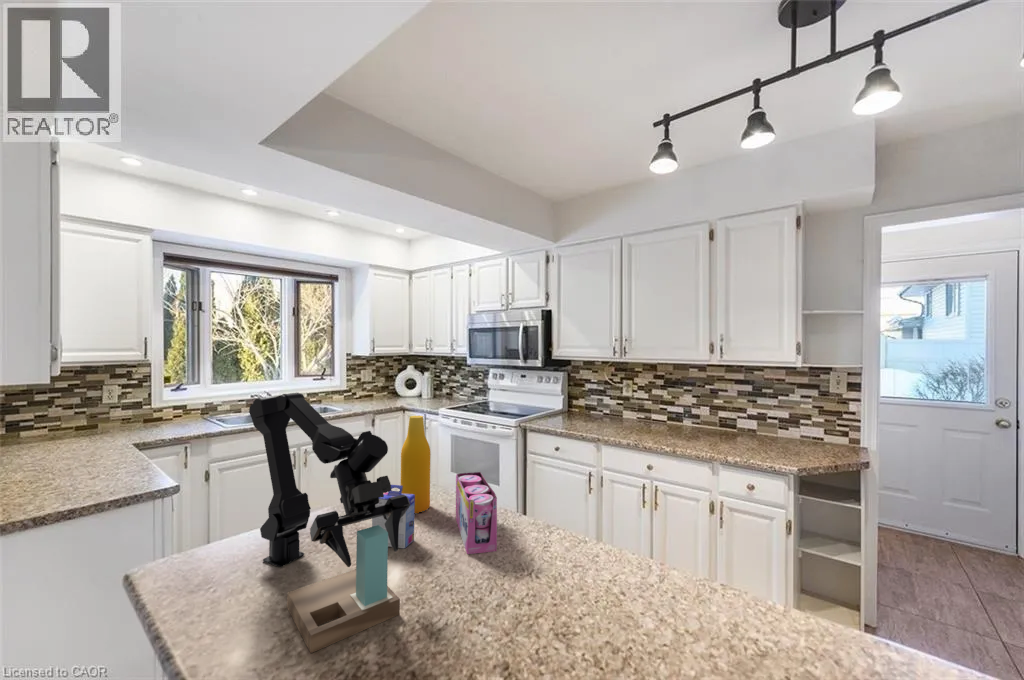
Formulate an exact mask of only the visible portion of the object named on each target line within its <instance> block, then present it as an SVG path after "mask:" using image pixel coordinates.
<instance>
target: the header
mask: <svg viewBox="0 0 1024 680" xmlns="http://www.w3.org/2000/svg"><path fill="white" fill-rule="evenodd" d="M286 595H287V596H286V597H287V599H286V603H287V604H286V608H287V610H288V612H289V614H290V616H291V618H292V620H293V622H294V624H295V626H296V628H297V630H298V631H299V633H300V635H301V637H302V639H303V641H304V644H305V645H306V646H307V648H308V651H309V653H310V654H312V653H315V652H317V651H320V650H322V649H324V648H326V647H329V646H331V645H333V644H335V643H337V642H340V641H342V640H344V639H347V638H349V637H351V636H354V635H356V634H358V633H360V632H362V631H363V632H364V631H366V630H367V629H369V628H372V627H374V626H377V625H379V624H381V623H383V622H386V621H388V620H390V619H392V618H395V617H397V616H399V615H400V614H401V610H400V609H401V605H400V604H401V598H400V597H399V596H398V595H397V594H396V593H395V592H394V591H393V590H392V589H391V588H390V587H389V586H388V585H387V597H386V598H384V599H381V600H379V601H376V602H374V603H371V604H369V605H366V606H364V605H363V603H362V602H361V601H360V600H359V599H358V597H357V596H356V568H355V569H352V570H349V571H346V572H343V573H339V574H337V575H335V576H331V577H329V578H328V577H327V578H326V579H322V580H320V581H316V582H313V583H310V584H308V585H307V584H306V585H305V586H302V587H298V588H295V589H293V590H291V591H287V594H286ZM337 617H338V618H337ZM335 618H336V619H335ZM333 619H334V620H333ZM328 621H329V622H328Z"/></svg>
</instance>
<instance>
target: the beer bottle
mask: <svg viewBox="0 0 1024 680" xmlns="http://www.w3.org/2000/svg"><path fill="white" fill-rule="evenodd" d="M424 424H425V422H424V416H423V415H411V416H409V417H408V427H407V435H406V438H405V440H404V442H403V445H402V446H401V451H400V486H403V488H402V494H415V511H414V513H417V514H420V513H419V512H422V511H425V510H426V511H428V510H429V509H430V506H431V455H432V454H431V447H430V444H429V442H428V440H427V437H426V434H425V425H424ZM428 508H429V509H428ZM427 509H428V510H427ZM426 511H425V512H426ZM422 513H423V512H422Z"/></svg>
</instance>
